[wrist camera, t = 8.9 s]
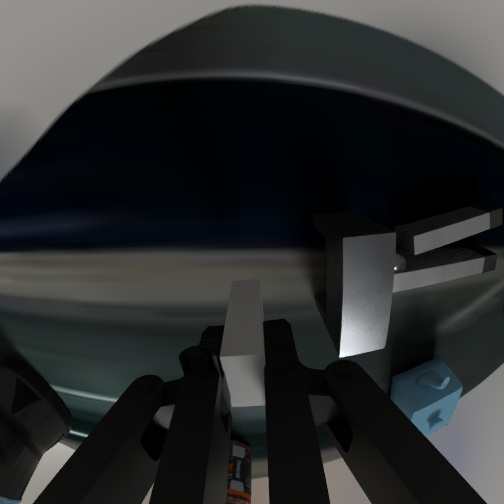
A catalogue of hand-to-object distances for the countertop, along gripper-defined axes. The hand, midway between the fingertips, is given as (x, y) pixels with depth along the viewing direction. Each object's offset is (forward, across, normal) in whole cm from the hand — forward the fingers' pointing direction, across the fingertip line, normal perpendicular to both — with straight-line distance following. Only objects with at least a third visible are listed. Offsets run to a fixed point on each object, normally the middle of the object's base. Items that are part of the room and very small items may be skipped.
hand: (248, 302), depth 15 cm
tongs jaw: (+5, +17, +2) cm, 18 cm away
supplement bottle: (+6, -6, -24) cm, 25 cm away
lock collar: (+5, +6, 0) cm, 8 cm away
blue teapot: (+6, +16, -16) cm, 23 cm away
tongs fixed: (+5, +15, -1) cm, 16 cm away
